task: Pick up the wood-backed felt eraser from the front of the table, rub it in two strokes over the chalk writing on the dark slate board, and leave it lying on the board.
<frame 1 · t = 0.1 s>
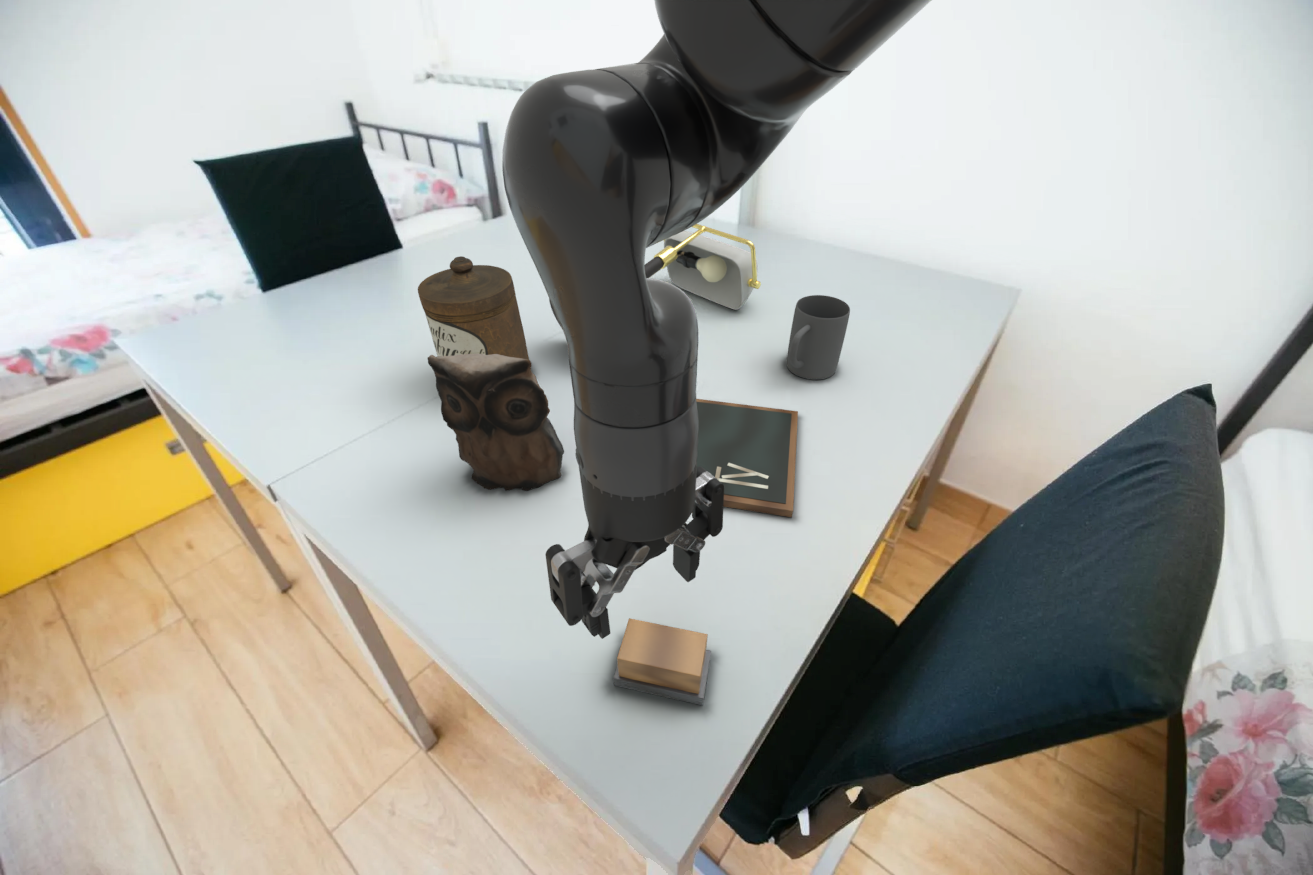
hand: (643, 599, 44), 15 cm above the table, tool pointing down, fingers open, 8 cm apart
owl: (522, 465, 79), on the table
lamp: (654, 322, 113), on the table
board: (733, 453, 81), on the table
mug: (804, 372, 98), on the table
wooden container: (490, 379, 97), on the table
eraser: (663, 671, 55), on the table
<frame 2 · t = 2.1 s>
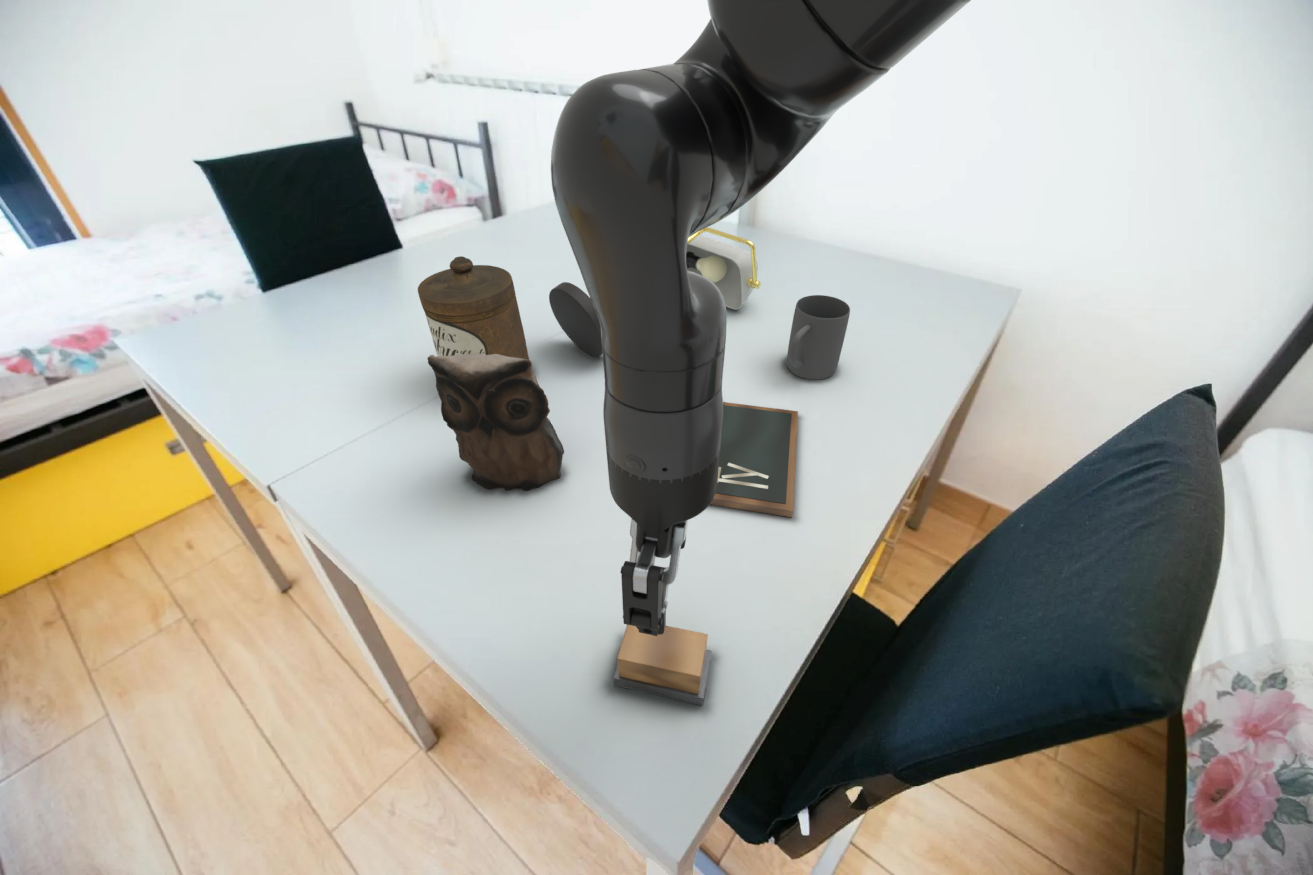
hand: (662, 583, 46), 15 cm above the table, tool pointing down, fingers open, 8 cm apart
nothing on the table moved.
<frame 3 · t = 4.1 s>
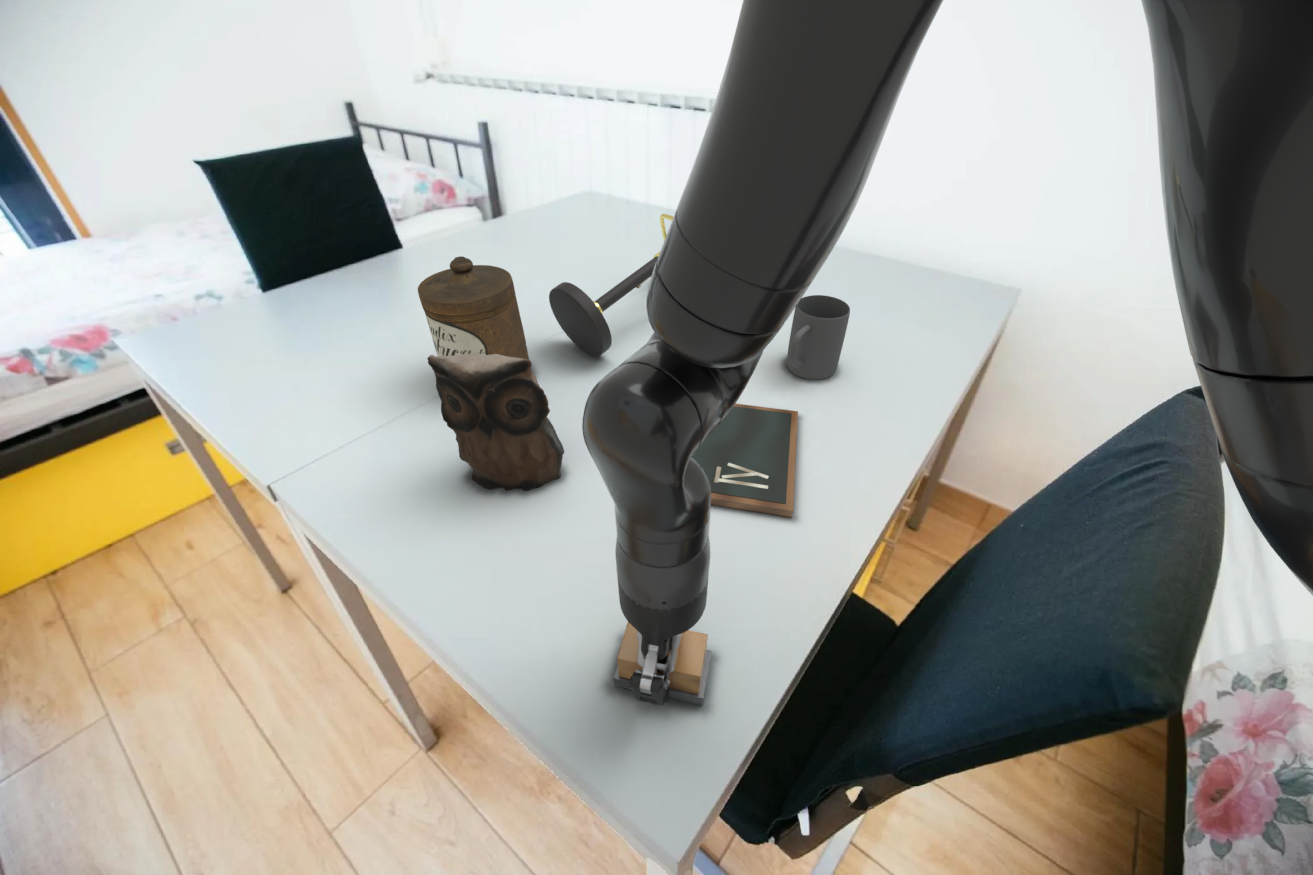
hand: (663, 669, 55), 0 cm above the table, tool pointing down, fingers closed on eraser, 5 cm apart
eraser: (663, 671, 55), on the table, touching gripper
everything else where it was.
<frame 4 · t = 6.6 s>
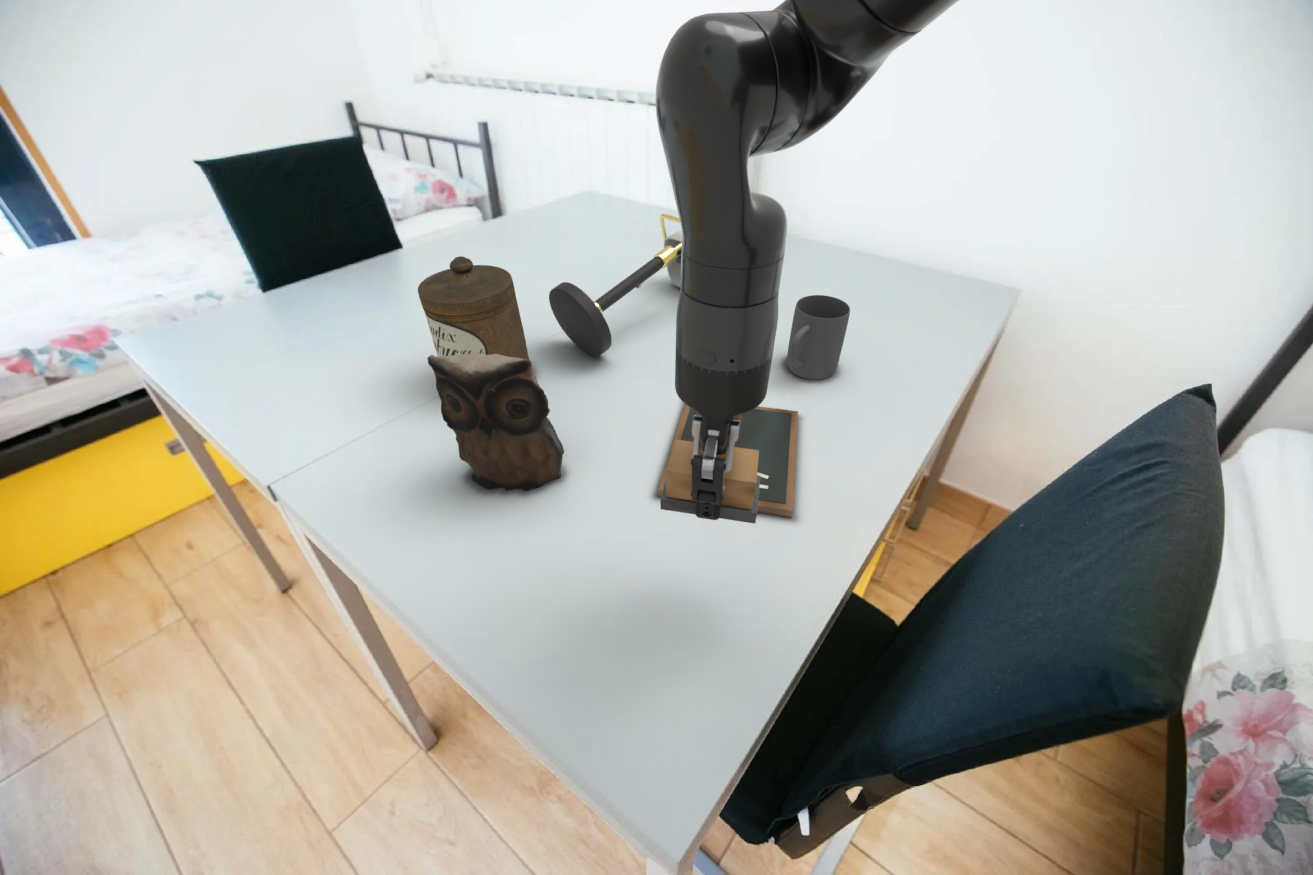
hand: (711, 494, 52), 16 cm above the table, tool pointing down, fingers closed on eraser, 5 cm apart
eraser: (710, 497, 53), point 15 cm above the table, touching gripper
everything else where it was.
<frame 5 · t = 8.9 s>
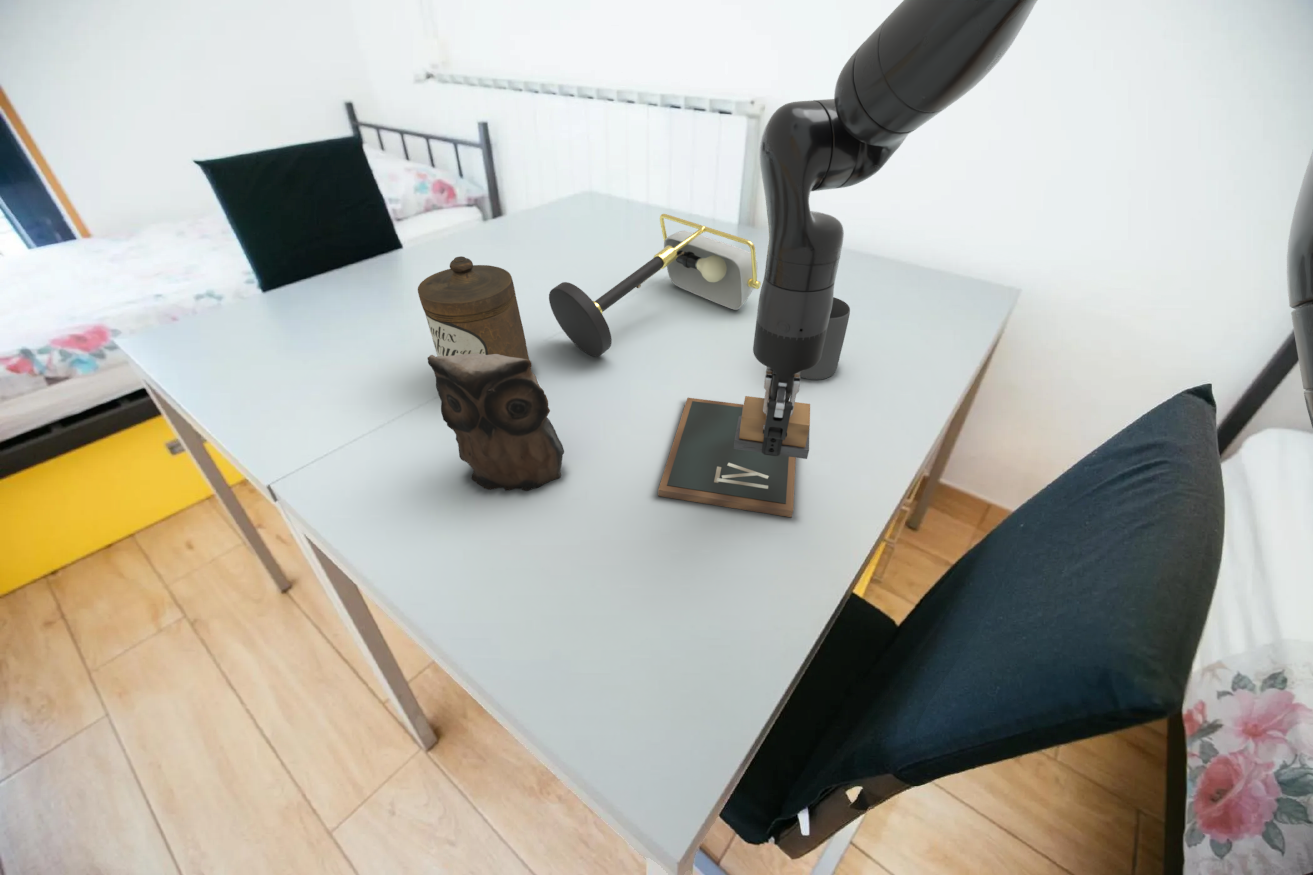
hand: (772, 438, 69), 9 cm above the table, tool pointing down, fingers closed on eraser, 5 cm apart
eraser: (771, 441, 69), point 9 cm above the table, touching gripper
everything else where it was.
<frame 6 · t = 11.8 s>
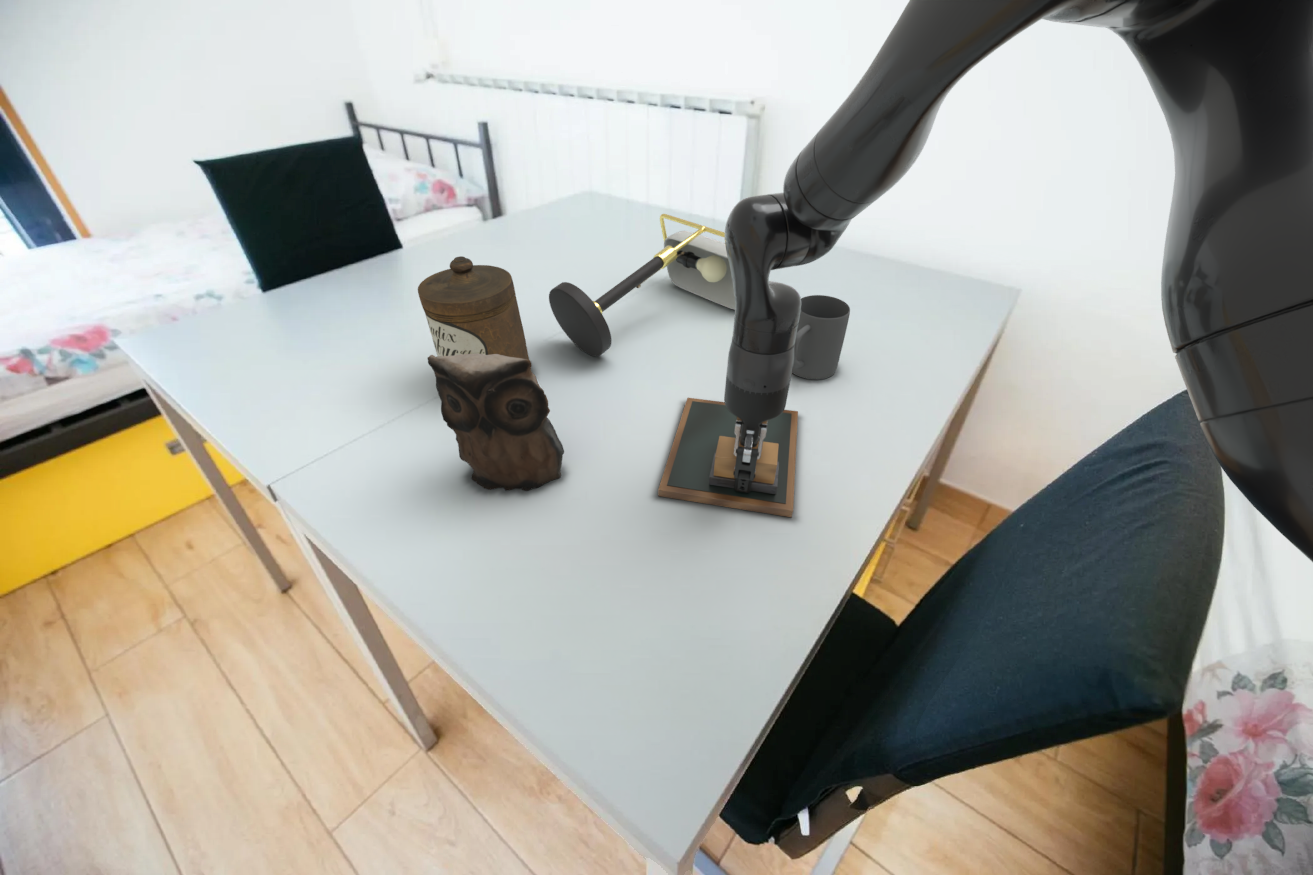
hand: (744, 475, 75), 2 cm above the table, tool pointing down, fingers closed on eraser, 5 cm apart
eraser: (743, 477, 75), point 1 cm above the table, touching gripper
everything else where it was.
when the fingers open (2 cm above the table, at t = 13.9 s): eraser stays where it is, resting on board.
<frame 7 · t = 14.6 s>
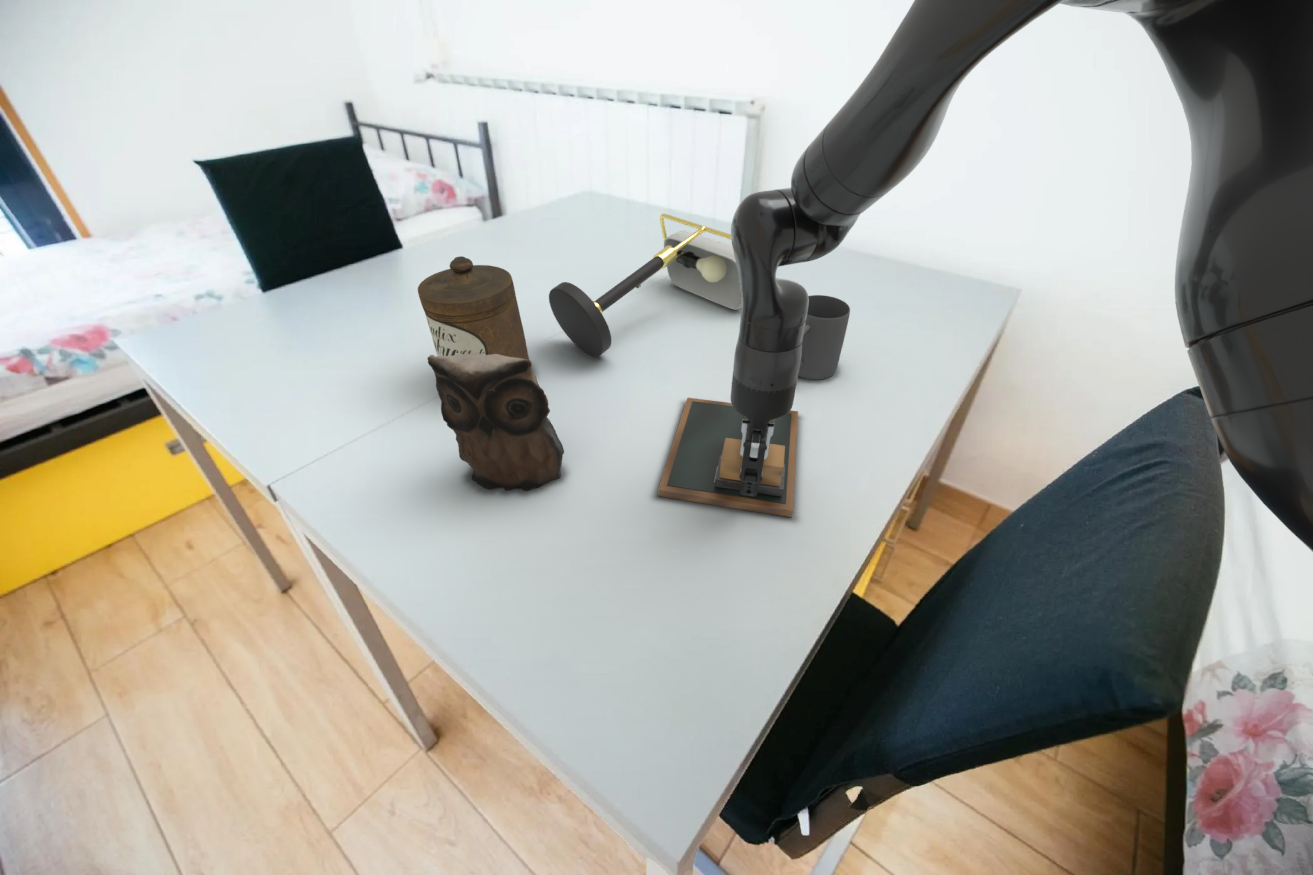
hand: (751, 471, 73), 3 cm above the table, tool pointing down, fingers open, 8 cm apart
eraser: (749, 479, 74), point 1 cm above the table, touching board
everything else where it was.
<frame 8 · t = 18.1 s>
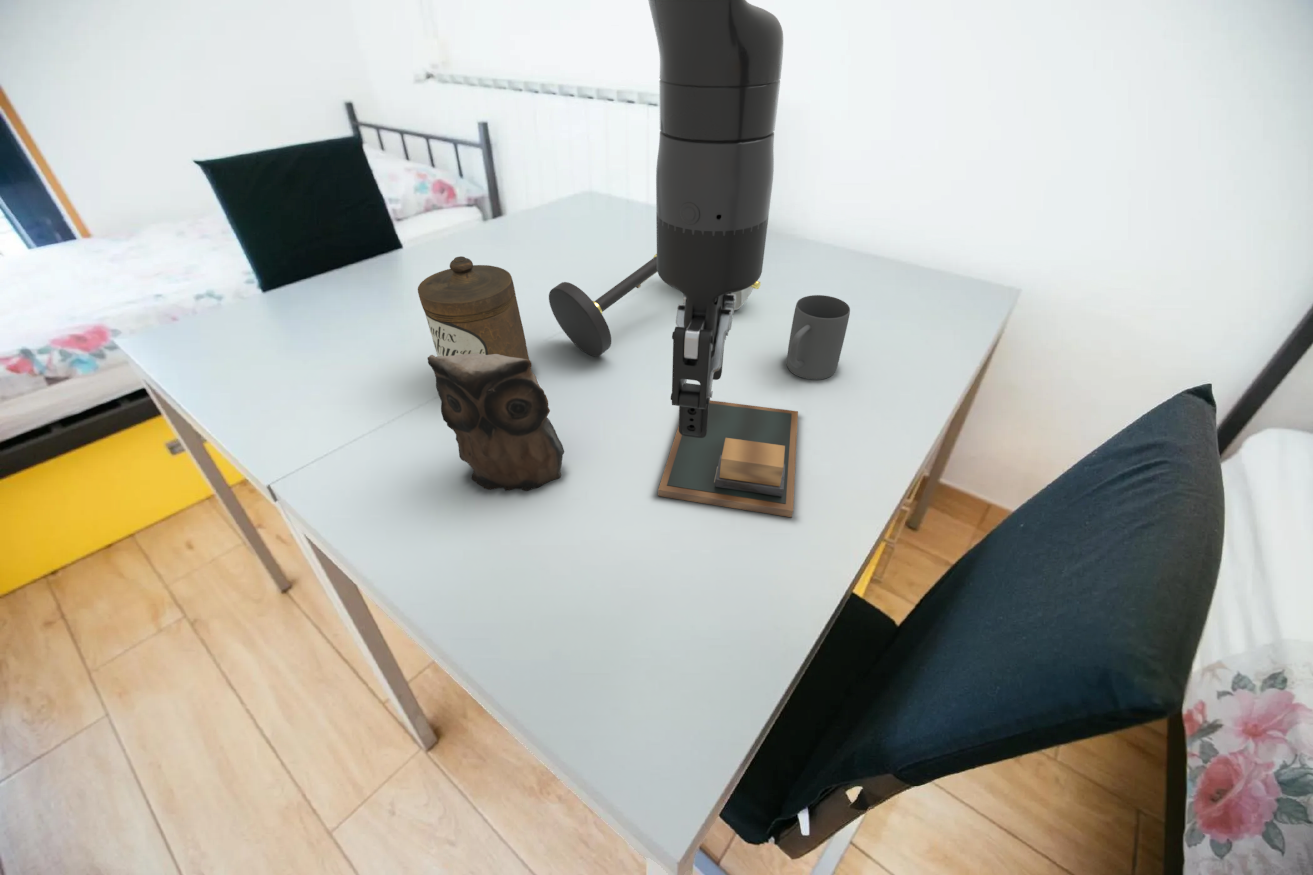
hand: (701, 403, 46), 26 cm above the table, tool pointing down, fingers open, 8 cm apart
nothing on the table moved.
at the end: eraser inside the target area on the board (7.1 cm from its centre), point 1.5 cm above the board's base; the gripper is holding nothing; eraser moved 29.2 cm from its start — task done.
